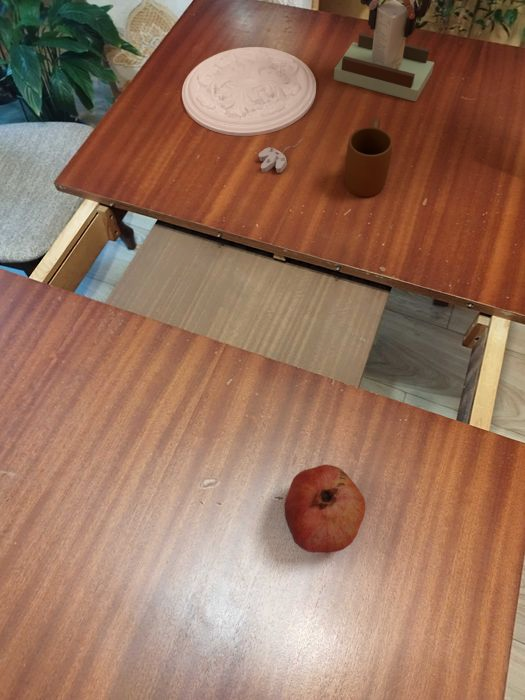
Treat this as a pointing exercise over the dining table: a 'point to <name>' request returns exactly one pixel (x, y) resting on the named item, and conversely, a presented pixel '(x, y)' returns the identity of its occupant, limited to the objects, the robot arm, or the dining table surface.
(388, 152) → the mug
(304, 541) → the fruit
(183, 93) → the ceiling medallion
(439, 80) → the dining table surface
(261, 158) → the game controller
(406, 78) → the green base with ridges
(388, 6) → the box
